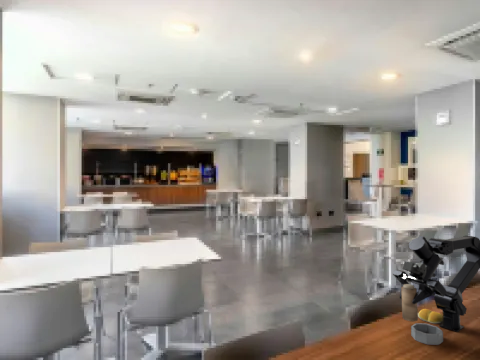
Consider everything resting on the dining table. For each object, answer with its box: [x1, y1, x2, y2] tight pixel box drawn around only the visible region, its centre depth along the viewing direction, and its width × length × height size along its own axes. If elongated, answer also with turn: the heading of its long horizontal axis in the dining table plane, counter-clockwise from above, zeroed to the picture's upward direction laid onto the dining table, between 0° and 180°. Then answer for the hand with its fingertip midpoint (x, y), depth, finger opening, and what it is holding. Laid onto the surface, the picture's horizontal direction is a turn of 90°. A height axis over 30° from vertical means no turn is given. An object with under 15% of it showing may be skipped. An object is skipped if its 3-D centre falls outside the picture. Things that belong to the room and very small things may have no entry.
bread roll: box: [418, 308, 443, 325], centre depth 136 cm, size 8×9×4 cm
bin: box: [410, 322, 444, 346], centre depth 119 cm, size 9×9×4 cm
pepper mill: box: [400, 283, 419, 322], centre depth 120 cm, size 5×5×12 cm
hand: (406, 301), depth 119 cm, fingers closed on pepper mill, 5 cm apart
